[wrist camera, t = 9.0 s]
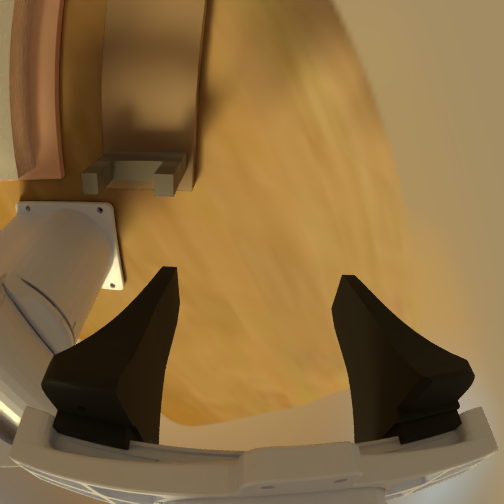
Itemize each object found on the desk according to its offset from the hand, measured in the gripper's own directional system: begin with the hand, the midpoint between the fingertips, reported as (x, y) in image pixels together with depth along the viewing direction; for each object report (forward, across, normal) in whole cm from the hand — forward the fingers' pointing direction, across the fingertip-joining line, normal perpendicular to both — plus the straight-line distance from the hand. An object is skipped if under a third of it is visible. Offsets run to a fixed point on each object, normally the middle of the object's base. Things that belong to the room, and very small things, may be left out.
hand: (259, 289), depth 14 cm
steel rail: (+8, +17, -11) cm, 22 cm away
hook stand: (+9, +7, -9) cm, 15 cm away
